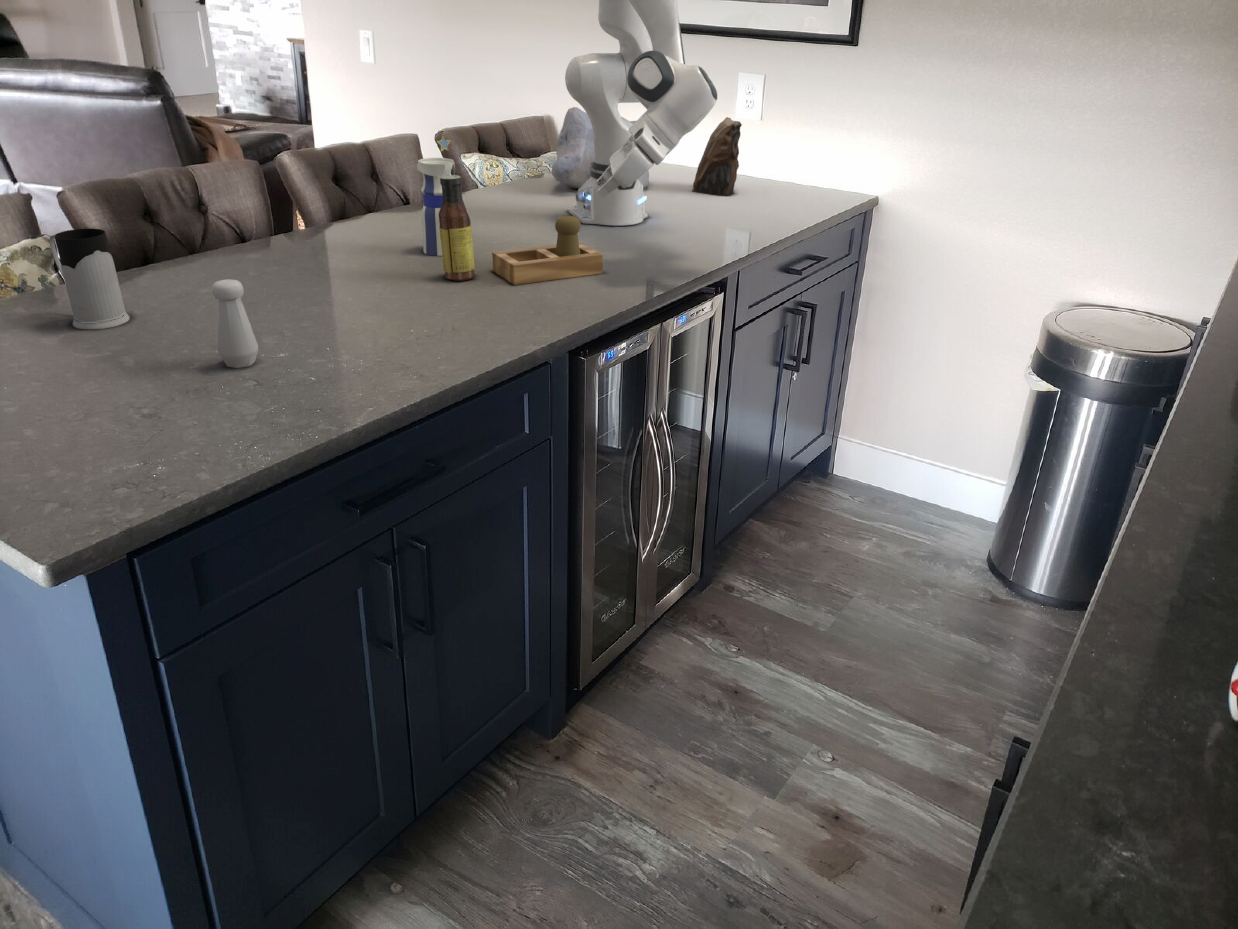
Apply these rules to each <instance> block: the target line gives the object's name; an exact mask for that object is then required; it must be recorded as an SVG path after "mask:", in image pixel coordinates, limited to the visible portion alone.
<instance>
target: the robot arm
mask: <svg viewBox="0 0 1238 929" xmlns="http://www.w3.org/2000/svg"><path fill="white" fill-rule="evenodd" d="M597 16H598V17H597V19H598V20H597V21H598V23H599V26H600V28H601V29H602V30H603V31H604V33H606V34H607V35H609V36H610V37H612V38H614V40H618V44H619V51H618V52H591V53H586V54H582V55H578V56H573V58H572V59H571V60H570V61H569V63H568V65H566V66H567V67H566V69H565V75H564V80H565V81H564V82H565V87H566V90H567V91H568V94H569V96H570V97H571V98H572V99H573V100H574V101H576V102H577V103H578V104H579V105H580V106H581V107H582V108H583V110H584V112H586V113H587V114H588V116H589V119H590V121H591V124H592V128H593V136H594V162H593V163H590V164H592V166H590V167H591V172H590V176H591V177H590V178H589V179H588V180H587V181H586V182H585V183H584V184H583V185H582V186H581V187H580V188H579V189H578V190H577V193H576V192H575V193H576V194H575V201H576V205H572V206H569V207H568V208H567V212H568V213H569V214H570V215H571V216H573V217H576V218H578V219H579V221H580V223H582V224H587V225H589V224H591V225H602V226H615V227H616V226H618V227H619V226H632V225H638V224H640V223H643V222H644V220H645V219H646V218H648V217H649V216H648V212H646V211H645V201H646V200H647V195H644V188H643V185H642V184H641V183H640V182H639V178H640V177H641V176H642V175H643V174H644V173H645V172H647V171H649V170H650V169H651V168H652V167H653V166H654V165H656V166H658V165H660V164H661V163H662V162H663V161H664V160H665V158H666V157H667V155H669V154H670V153H671V152H672V151H673V150H674V149H675V148H676V147H677V146H678V144H679V143H680V141H681V139H682V138H683V137H684V136H685V135H687V134H689V133H690V132H692V131H694V129H695V128H696V127H697V126H698V125H699V124H700V123H701V122H702V121H703V120H704V119H705V118H706V117H707V116H708V115H709V113H710V112H711V111H712V109H713V108H714V107H715V105H716V103H717V101H718V91H717V88H716V86H715V85H714V83H713V80H711V79H710V77H709V75H708V73H707V72H706V71H705V69H704V68H702V67H701V66H699V65H688V64H686V60H685V51H684V45H683V37H682V30H681V23H680V18H679V17H680V16H679V6H678V0H598V14H597ZM628 103H629V104H630V103H632V104H633V103H639V104H640V105H642V106H643V108H644V109H645V110H646V111H645V112H644V113H642V115H641V116H640V117H639V118H638V119H637V120H635V121H636V122H635V123H634V124H633V123H632V122H630V121H631V120H629V119H627V118H625V117H623V116H621V114H620V111H619V104H628Z"/></svg>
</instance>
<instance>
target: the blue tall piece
mask: <svg viewBox="0 0 1238 929" xmlns="http://www.w3.org/2000/svg"><path fill="white" fill-rule="evenodd" d="M436 143H437V144H438V145H439V146H440V153H441V152H443V151H448V152H449V151H450V149H449V144H450V143H451V140H449V139H446V138H445V136H444V135H442V136H441V139H440V140H438V141H436ZM455 164H456V163H455V161H454V159H452V158H448V157H447V158H445V157H426V158H421V159H418V161H417V165H416V170H417V171H418V172H419V173H421V175H422V179H423V180H422V187H421V189H420V192H421V193H422V199H423V206H422V210H421V217H422V218H421V219H422V236H423V238H422V240H423V242H422V243H423V253H424V254H426V255H428V256H437V257H439V256H440V257H442V249H441V238H440V229H439V227H440V223H439V211H440V208H441V206H442V203H443V198H442V197H443V194H442V186H441V184H440V177H442V176H446V175H452V174H451V173H452V172H453V175H456V165H455Z"/></svg>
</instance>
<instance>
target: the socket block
mask: <svg viewBox="0 0 1238 929" xmlns="http://www.w3.org/2000/svg"><path fill="white" fill-rule="evenodd" d="M556 245H557V244H552V245H551V244H550V245H543V246H534V247H525V248H515V249H507V250H500V251H499V250H497V251H492V252H491V253H492V254H491V255H492V256H491V258H492V272H493V273H495V274H496V275H497V276H500V277H501V278H503V279H504V280H506V281H507V282H509V283H511V284H512V285H514V286H517V285H525V284H532V283H533V284H534V283H540V282H547V281H555V280H563V279H570V278H578V277H585V276H586V277H587V276H593V275H594V276H595V275H600V274H603V273H604V266H603V265H604V254H603V253H601V252H599V251H597V250H595V249H593V248H591V247H589V246H587V245H585V244H583V243H581V242H579V248H580V255H572V256H563V257H559V256H557V255H555V253H556Z"/></svg>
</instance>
